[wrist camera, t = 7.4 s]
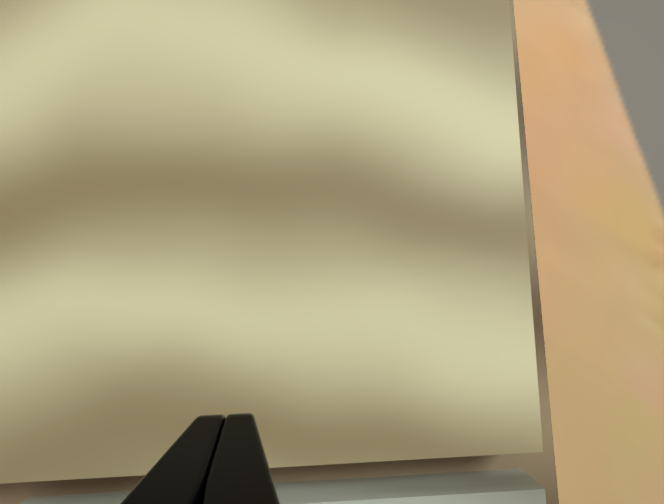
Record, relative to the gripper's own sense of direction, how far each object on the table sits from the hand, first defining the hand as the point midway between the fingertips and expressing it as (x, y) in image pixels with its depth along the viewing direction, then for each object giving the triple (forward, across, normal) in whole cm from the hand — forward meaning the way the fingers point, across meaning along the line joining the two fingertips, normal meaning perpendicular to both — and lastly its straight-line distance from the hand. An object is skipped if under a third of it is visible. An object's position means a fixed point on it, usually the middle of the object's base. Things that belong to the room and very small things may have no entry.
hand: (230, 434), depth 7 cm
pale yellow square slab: (+8, 0, 0) cm, 8 cm away
